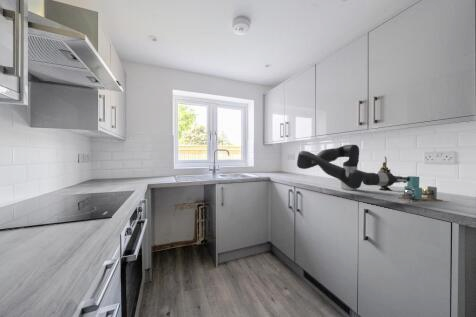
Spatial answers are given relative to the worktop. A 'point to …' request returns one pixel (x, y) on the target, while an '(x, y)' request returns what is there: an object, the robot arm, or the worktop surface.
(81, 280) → the worktop surface
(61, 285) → the worktop surface
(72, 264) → the worktop surface
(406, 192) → the pipe
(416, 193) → the sleeve
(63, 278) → the worktop surface
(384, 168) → the figurine
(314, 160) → the robot arm
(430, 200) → the board
